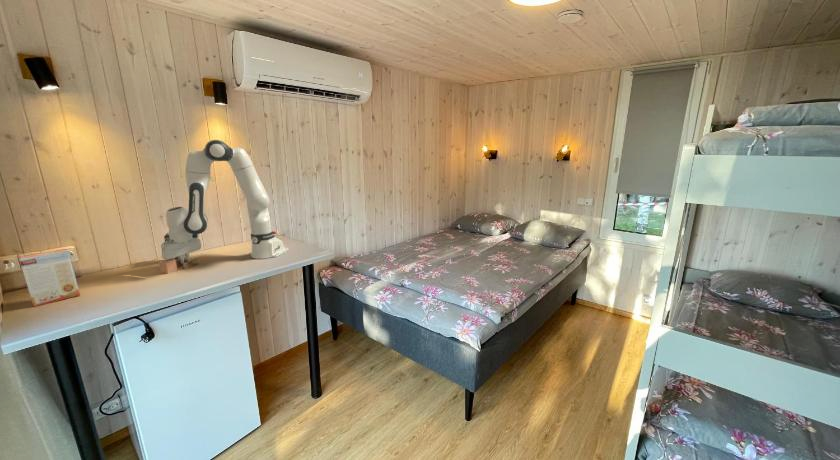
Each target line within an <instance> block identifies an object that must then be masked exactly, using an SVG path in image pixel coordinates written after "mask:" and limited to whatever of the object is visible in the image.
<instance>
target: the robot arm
mask: <svg viewBox="0 0 840 460" xmlns="http://www.w3.org/2000/svg"><path fill="white" fill-rule="evenodd" d="M185 161H186V163H185V182H186V187H187V192H188V209H187V208H185V207H183V206H176V207H172V208H169V209H168V210H167V211H166V213H165V219H166V225H167V228H168V233H169V237H170V240H169V241H165V240H164V241H163V242H162V244H161V245H160V248H161V257H162V259H163V260H166V259H172V258H175V257H178V258H179V259H180V261H181V263H185V262H188V261H189V258H190V253H193V252H196V251H200V250H202V249H201V248H202V242H201V239H200V234H202V233H204V232H205V231H206V229H208V228H207V227H208V217H207V215H206V214H205V213H204V199H205V195H206V193H207V189H208V188H209V186H210V181H211V168H212V166H211V165H212V164H213V163H214V162H227V163H228V164H229V166H230V168H231V170H232V172H233V175H234V176H235V179H236V182H237V183H238V185H239V187H240V189H241V191H242V193H243V195H244V197H245V202H246V207H247V214H248V219H249V225H250V232H251V233H250V240H251V252H250V256H251V258H253V259H257V260H259V259H260V260H262V259H269V258H277V257H279V256H280V255H281V256H282V254H284V253H286V252H287V251H289V248H288V247H286V246H285V245H284V244H285V243H284V241H282V240H281V239H279V238H278V237H276V236H275V235H278V231H277V230H272V221H271V217H270V212H269V206H270V204H271V203H270V202H271V200H270V197H269V195H268V192H267V191H266V189H265V187H264V185H263V183H262V181H261V179H260V177H259V174H258V173H257V169H256V168H255V166H254V163H253V161H252V159H251V158H250V156H249V155H248V153H247V151H246V150H245V149H244V148H242V147H234V148H232V147H230V146H229V145H227V144H226V143H225V142H224V141H222V140H219V139H212V140H209V141H207V143H206V144H205V147H204V148H203V149H202V150H191V151H190V152H189V153H188V154H187V158H186V160H185ZM183 255H185V257H184V259H183V258H182V257H183Z"/></svg>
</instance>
